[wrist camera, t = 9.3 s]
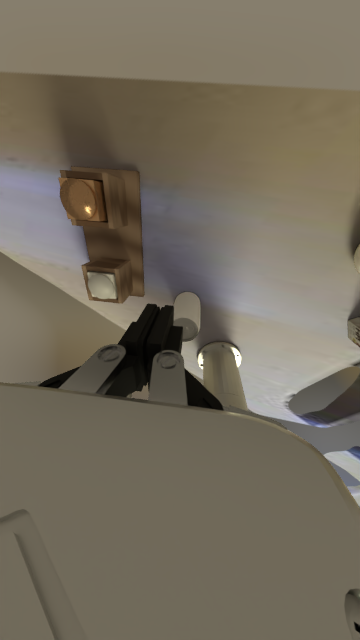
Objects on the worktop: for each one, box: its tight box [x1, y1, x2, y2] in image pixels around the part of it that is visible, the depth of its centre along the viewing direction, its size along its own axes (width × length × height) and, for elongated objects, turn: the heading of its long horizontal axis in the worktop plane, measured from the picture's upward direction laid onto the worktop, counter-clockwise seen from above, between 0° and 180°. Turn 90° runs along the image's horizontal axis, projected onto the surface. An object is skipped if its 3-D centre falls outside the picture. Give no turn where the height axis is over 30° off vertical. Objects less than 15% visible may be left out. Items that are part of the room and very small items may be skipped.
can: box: [173, 292, 201, 342], centre depth 40 cm, size 6×6×12 cm
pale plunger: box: [87, 271, 118, 299], centre depth 38 cm, size 5×5×8 cm
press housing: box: [60, 166, 144, 304], centre depth 35 cm, size 24×12×8 cm, turn 176°
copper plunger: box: [59, 178, 108, 221], centre depth 29 cm, size 5×5×8 cm
